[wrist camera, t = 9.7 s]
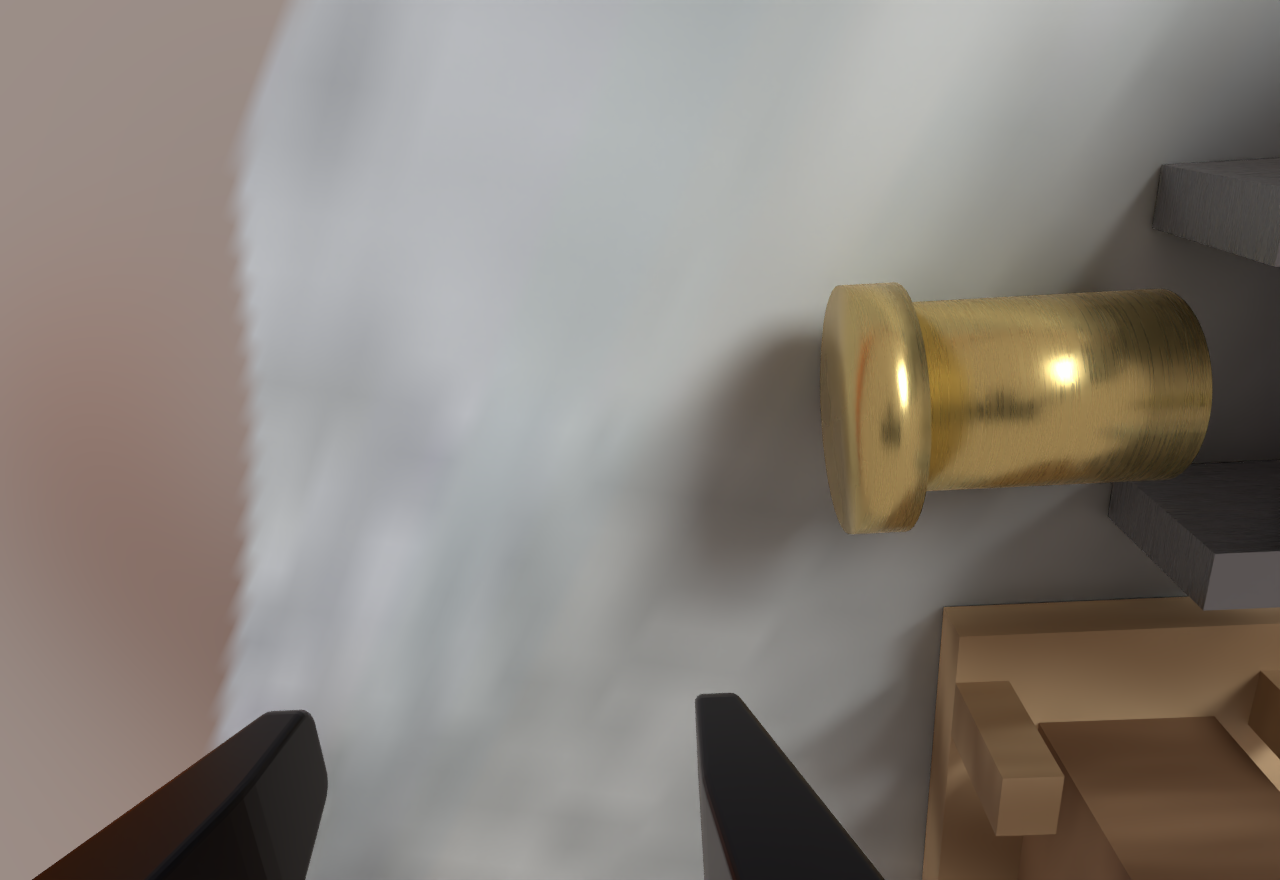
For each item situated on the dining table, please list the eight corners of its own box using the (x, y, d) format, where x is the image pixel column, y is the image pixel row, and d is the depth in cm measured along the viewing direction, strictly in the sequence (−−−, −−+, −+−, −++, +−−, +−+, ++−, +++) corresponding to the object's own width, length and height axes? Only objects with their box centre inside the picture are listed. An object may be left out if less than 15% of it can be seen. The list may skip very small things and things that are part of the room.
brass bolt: (1126, 245, 18) (1274, 300, 14) (1096, 458, 20) (1219, 565, 15) (822, 262, 18) (874, 321, 14) (818, 471, 20) (863, 582, 16)
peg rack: (943, 606, 21) (1008, 728, 17) (1292, 591, 21) (1437, 710, 17) (915, 966, 26) (962, 1125, 22) (1200, 957, 25) (1300, 1117, 22)
